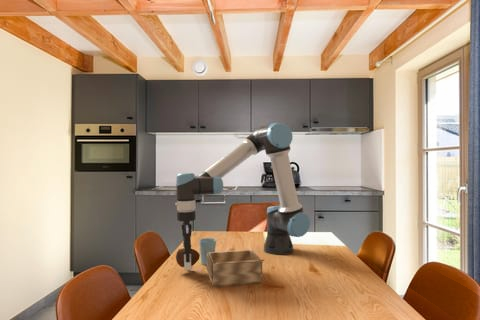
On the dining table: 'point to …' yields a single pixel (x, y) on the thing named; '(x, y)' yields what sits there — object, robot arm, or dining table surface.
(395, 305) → the dining table surface
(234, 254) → the carton
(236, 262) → the flap
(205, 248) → the cup
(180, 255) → the potato
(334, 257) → the dining table surface
